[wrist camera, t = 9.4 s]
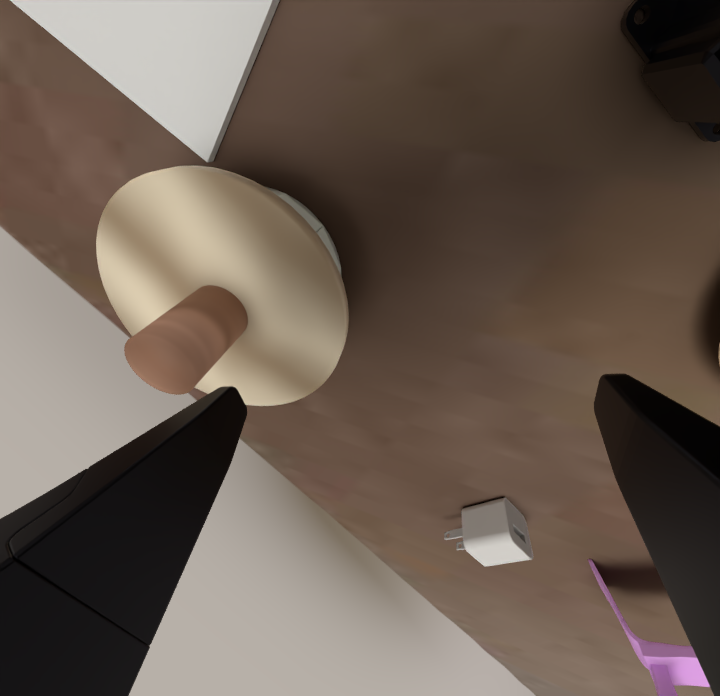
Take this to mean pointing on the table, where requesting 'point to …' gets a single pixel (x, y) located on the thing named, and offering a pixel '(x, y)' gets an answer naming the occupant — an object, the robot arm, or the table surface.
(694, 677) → the toy chair
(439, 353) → the table surface
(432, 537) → the table surface
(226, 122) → the mat
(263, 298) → the lid
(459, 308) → the table surface
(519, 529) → the usb wall charger
